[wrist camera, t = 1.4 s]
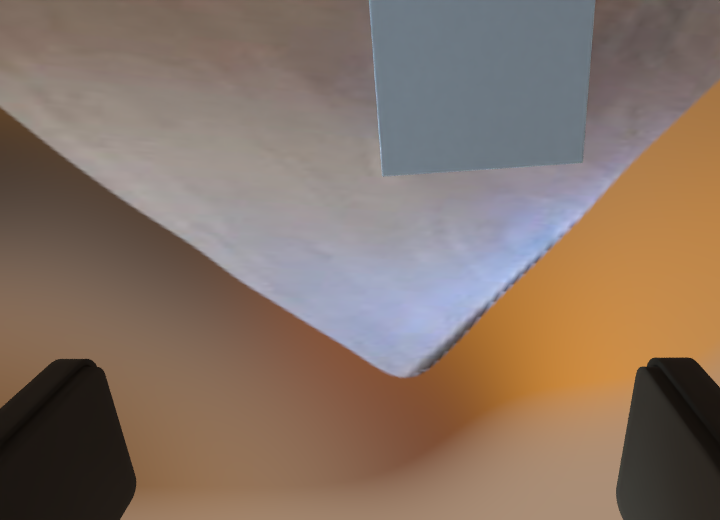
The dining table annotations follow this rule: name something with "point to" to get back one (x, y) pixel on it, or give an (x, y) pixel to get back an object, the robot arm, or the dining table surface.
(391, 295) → the dining table surface
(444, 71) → the blue stand
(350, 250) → the dining table surface
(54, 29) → the dining table surface
